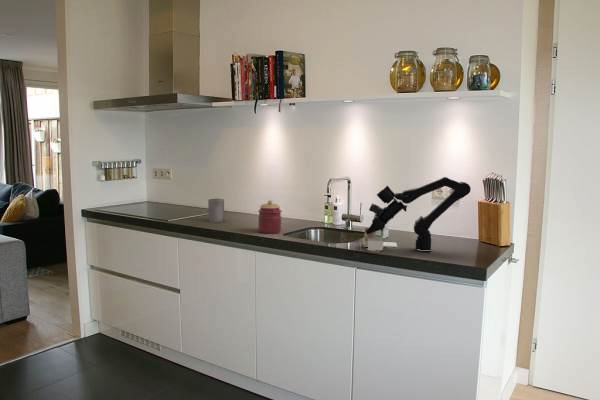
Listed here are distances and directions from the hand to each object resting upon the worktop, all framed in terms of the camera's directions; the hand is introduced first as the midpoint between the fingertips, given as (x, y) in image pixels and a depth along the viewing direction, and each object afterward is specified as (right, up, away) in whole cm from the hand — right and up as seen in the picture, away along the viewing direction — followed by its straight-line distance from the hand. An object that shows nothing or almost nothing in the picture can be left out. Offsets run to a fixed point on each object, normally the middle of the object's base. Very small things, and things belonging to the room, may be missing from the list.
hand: (367, 232), depth 222 cm
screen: (+3, -8, -7) cm, 11 cm away
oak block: (+1, -7, +1) cm, 7 cm away
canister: (-49, -2, +36) cm, 61 cm away
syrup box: (+11, -5, +23) cm, 26 cm away
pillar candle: (-85, +2, +68) cm, 109 cm away
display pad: (+10, -7, +3) cm, 13 cm away
